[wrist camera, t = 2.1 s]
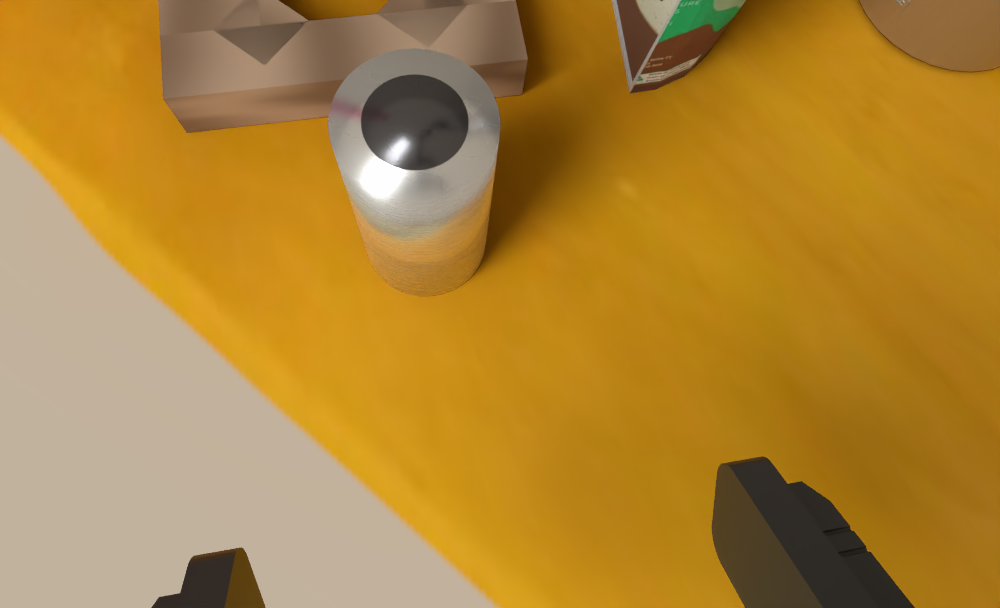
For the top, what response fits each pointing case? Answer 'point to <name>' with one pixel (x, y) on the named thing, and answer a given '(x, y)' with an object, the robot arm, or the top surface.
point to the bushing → (418, 165)
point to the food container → (668, 37)
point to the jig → (316, 54)
